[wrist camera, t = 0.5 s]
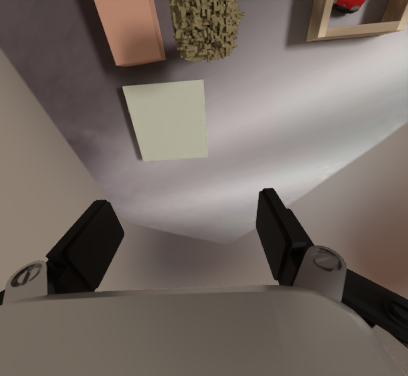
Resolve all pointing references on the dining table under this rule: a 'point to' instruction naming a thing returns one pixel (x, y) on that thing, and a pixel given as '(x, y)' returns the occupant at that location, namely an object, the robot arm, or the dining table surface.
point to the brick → (131, 31)
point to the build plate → (169, 119)
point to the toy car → (347, 5)
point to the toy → (205, 28)
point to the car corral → (391, 22)
